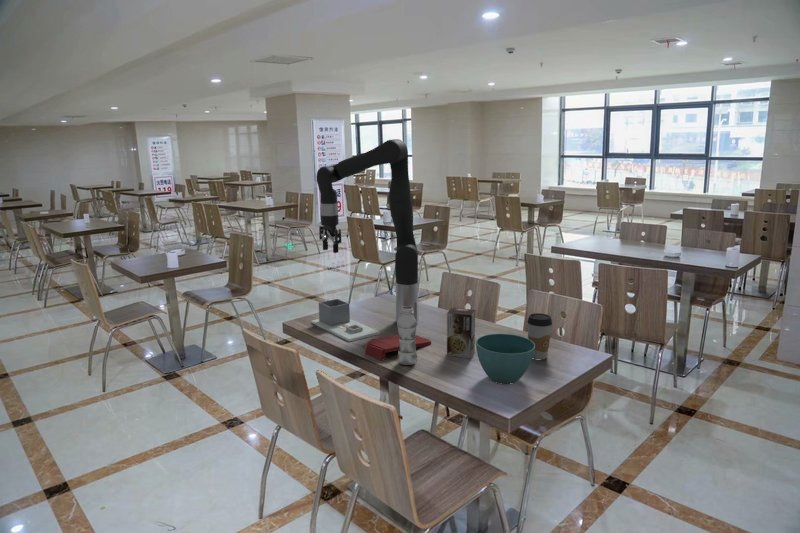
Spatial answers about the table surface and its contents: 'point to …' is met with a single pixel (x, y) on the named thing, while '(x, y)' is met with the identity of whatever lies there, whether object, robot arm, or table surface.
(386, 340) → the carton
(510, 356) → the teal bowl
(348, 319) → the ball rack
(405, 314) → the plastic bottle
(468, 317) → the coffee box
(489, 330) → the table surface
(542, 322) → the coffee cup
